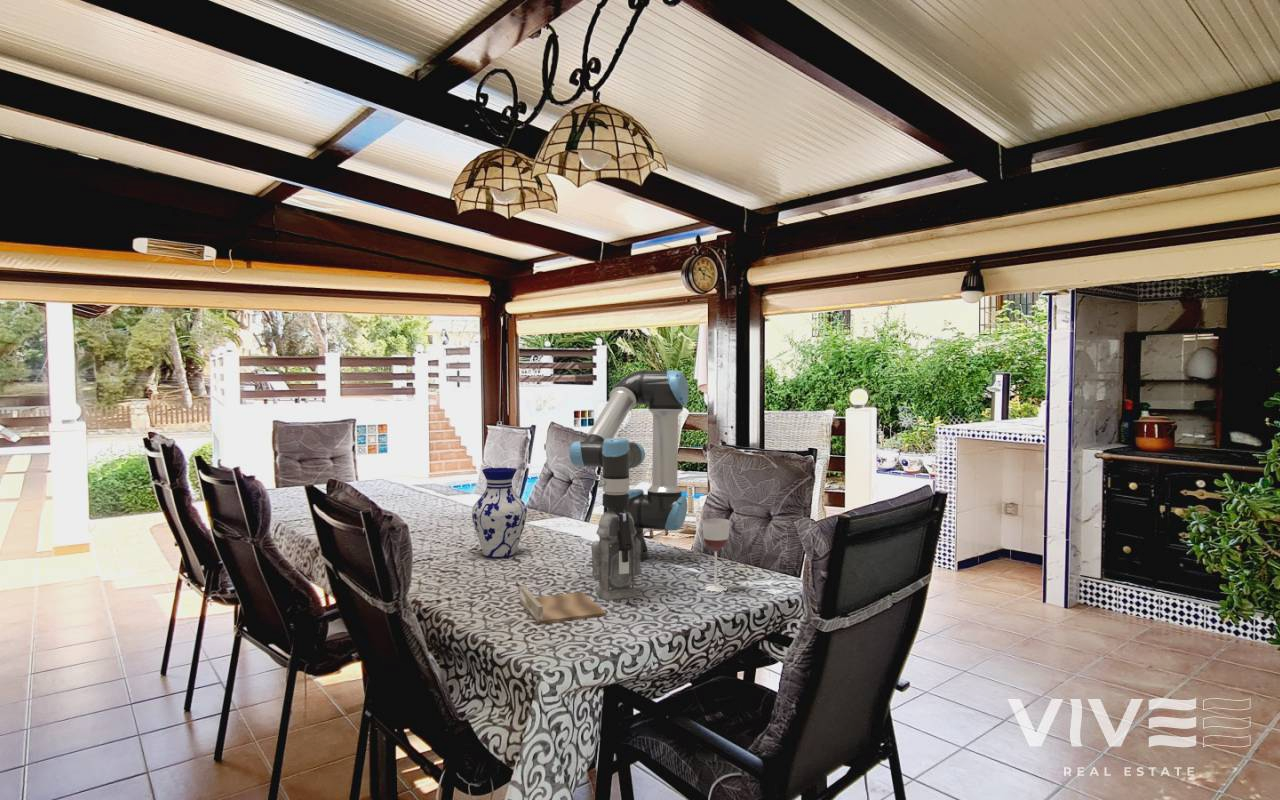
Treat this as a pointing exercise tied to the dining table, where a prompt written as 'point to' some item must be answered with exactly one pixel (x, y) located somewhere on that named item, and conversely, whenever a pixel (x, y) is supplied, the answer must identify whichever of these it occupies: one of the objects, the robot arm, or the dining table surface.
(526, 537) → the dining table surface
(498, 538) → the vase
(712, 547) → the wineglass
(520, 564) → the dining table surface
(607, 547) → the figurine
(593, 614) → the shelf board
